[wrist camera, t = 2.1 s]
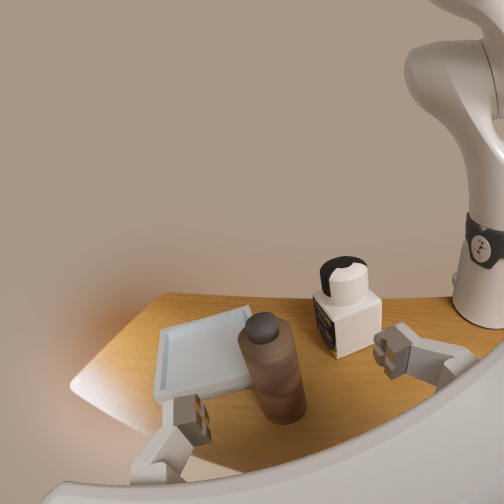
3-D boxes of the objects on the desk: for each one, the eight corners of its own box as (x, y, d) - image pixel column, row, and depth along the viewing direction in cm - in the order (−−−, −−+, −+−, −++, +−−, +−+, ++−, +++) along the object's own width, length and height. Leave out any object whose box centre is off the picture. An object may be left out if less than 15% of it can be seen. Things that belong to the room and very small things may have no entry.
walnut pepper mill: (299, 386, 32) (279, 299, 27) (312, 415, 27) (296, 328, 22) (260, 399, 32) (229, 314, 27) (269, 429, 27) (237, 347, 22)
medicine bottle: (317, 331, 41) (306, 261, 37) (358, 315, 42) (353, 245, 37) (336, 361, 34) (328, 285, 30) (381, 341, 35) (382, 265, 30)
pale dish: (252, 316, 49) (248, 304, 48) (274, 379, 34) (271, 367, 33) (166, 340, 47) (160, 329, 47) (161, 408, 33) (152, 397, 32)
